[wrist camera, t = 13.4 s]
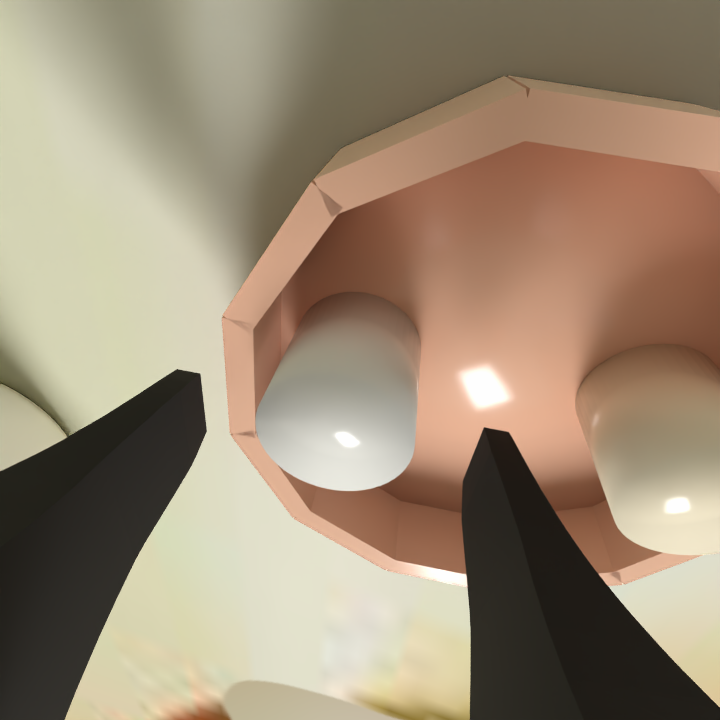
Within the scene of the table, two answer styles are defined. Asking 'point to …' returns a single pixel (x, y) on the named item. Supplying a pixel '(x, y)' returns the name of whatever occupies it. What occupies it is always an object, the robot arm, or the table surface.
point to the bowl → (494, 297)
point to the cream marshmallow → (657, 445)
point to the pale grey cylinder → (345, 395)
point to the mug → (24, 428)
